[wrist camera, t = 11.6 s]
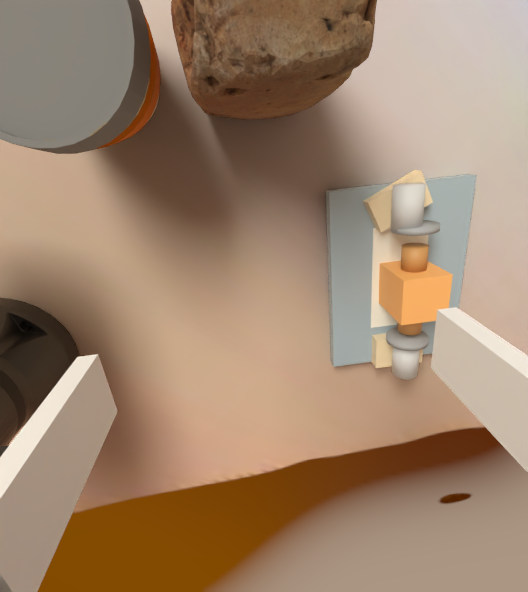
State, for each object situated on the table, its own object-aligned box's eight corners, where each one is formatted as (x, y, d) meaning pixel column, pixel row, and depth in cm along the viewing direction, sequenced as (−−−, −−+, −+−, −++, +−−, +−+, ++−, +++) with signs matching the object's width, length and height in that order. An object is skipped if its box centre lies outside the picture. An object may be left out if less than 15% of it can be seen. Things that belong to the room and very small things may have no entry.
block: (303, 26, 31) (404, -159, 13) (308, 116, 34) (396, 72, 16) (186, 38, 31) (117, -133, 13) (201, 129, 34) (163, 99, 15)
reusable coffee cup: (48, 147, 33) (-83, 141, 20) (27, -15, 29) (-164, -174, 15) (179, 160, 35) (144, 164, 21) (179, 8, 30) (134, -116, 16)
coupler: (378, 320, 42) (399, 346, 37) (380, 242, 38) (405, 256, 33) (417, 315, 42) (445, 339, 37) (423, 236, 38) (455, 250, 33)
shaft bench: (330, 360, 46) (346, 392, 39) (325, 179, 37) (344, 183, 30) (446, 344, 46) (479, 374, 40) (469, 162, 37) (516, 164, 31)
